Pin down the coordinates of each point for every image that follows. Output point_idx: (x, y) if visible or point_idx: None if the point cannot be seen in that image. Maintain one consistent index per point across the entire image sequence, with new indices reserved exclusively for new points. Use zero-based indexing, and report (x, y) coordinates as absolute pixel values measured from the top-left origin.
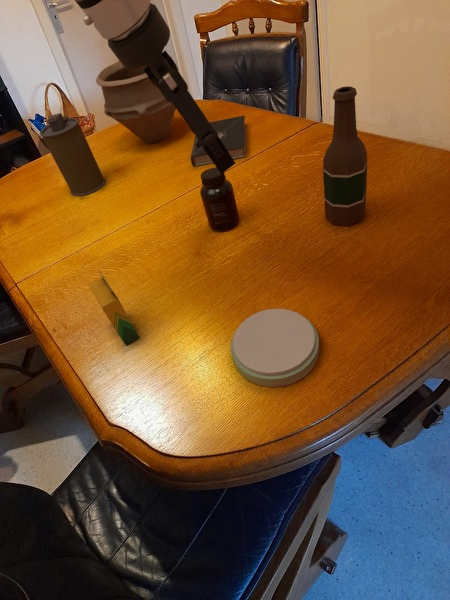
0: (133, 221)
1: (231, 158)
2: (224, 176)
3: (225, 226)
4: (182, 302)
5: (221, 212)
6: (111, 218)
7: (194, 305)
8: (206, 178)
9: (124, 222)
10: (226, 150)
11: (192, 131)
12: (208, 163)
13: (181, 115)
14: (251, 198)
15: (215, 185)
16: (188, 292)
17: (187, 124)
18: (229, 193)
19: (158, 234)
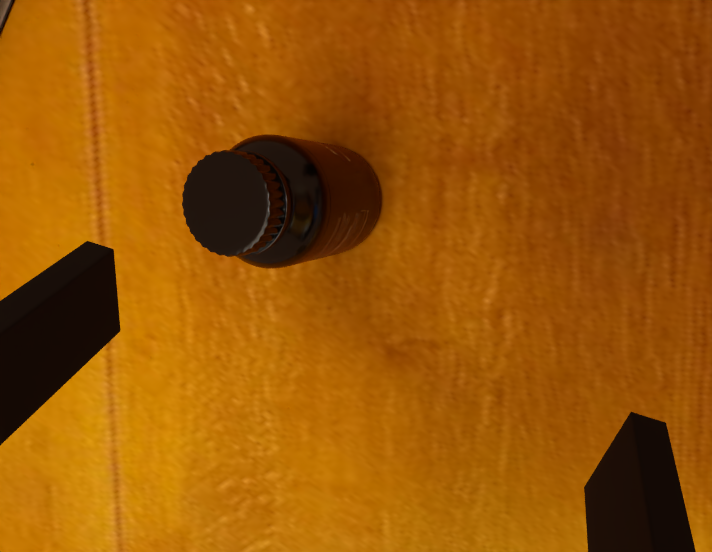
0: (108, 374)
1: (672, 468)
2: (269, 167)
3: (369, 227)
4: (549, 527)
5: (346, 232)
6: (51, 402)
7: None
8: (243, 248)
9: (94, 392)
10: (688, 539)
11: (111, 336)
12: (4, 18)
13: (13, 429)
14: (286, 42)
15: (285, 227)
16: (526, 489)
17: (72, 375)
18: (327, 182)
19: (218, 368)
